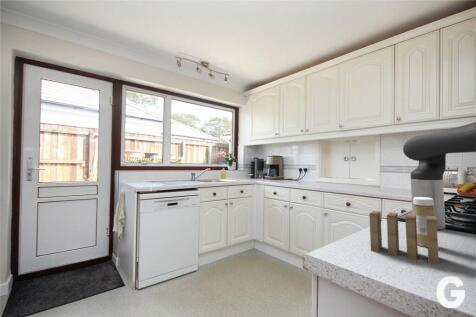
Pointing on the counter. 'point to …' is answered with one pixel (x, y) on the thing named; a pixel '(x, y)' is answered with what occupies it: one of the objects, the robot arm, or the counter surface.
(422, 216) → the sprinkles bottle
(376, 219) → the end domino
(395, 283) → the counter surface
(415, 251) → the domino
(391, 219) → the domino
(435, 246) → the domino
